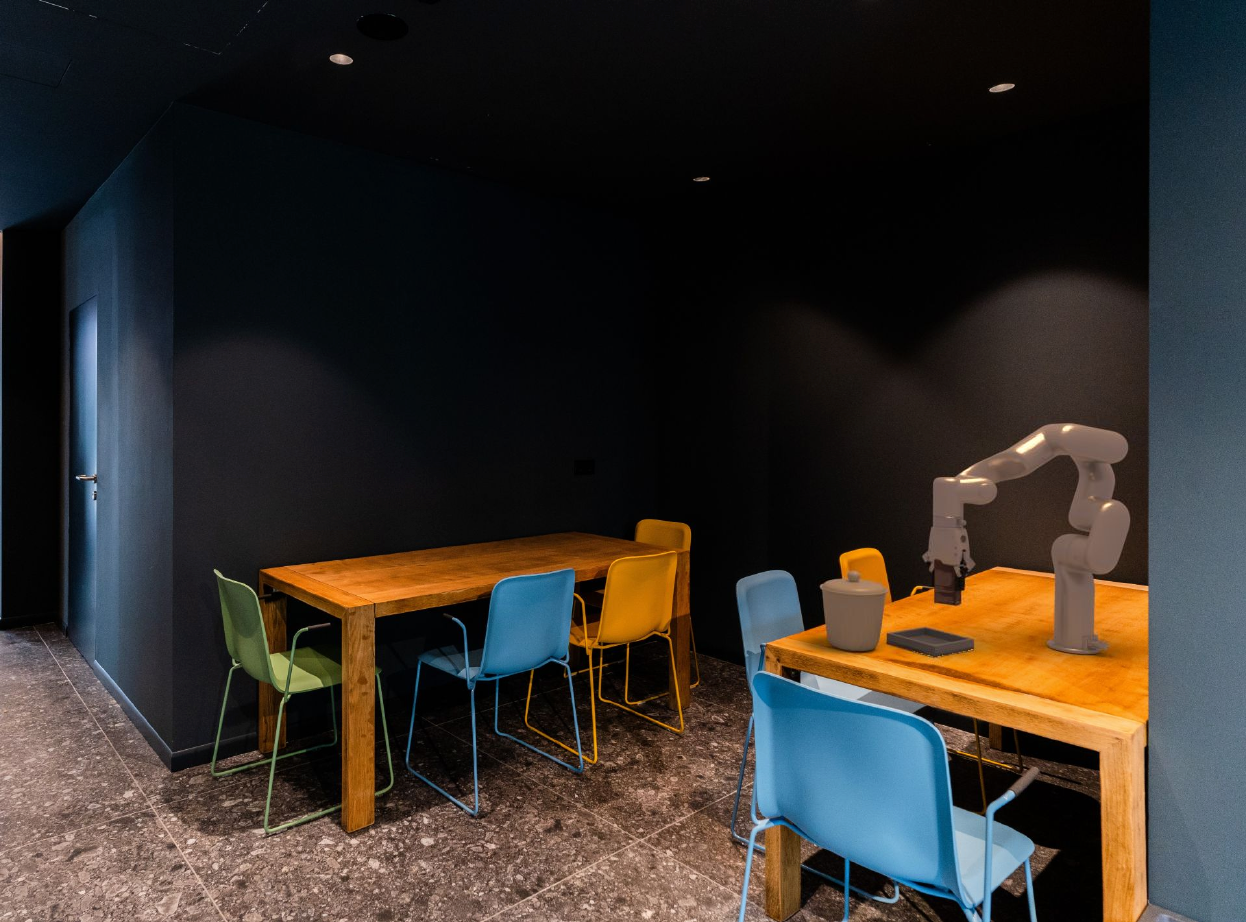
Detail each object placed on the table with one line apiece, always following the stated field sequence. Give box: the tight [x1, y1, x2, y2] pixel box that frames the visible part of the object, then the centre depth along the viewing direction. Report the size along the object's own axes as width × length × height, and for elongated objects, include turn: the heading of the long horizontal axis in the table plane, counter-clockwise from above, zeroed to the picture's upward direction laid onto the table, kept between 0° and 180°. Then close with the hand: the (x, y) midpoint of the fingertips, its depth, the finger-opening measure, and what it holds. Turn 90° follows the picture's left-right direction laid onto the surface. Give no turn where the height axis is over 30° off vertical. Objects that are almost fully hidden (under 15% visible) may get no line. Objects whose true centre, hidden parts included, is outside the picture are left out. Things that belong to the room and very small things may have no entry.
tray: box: [886, 626, 975, 658], centre depth 209 cm, size 16×16×3 cm
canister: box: [819, 570, 889, 652], centre depth 209 cm, size 18×18×21 cm
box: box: [933, 559, 962, 607], centre depth 204 cm, size 6×4×12 cm
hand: (947, 587), depth 204 cm, fingers closed on box, 6 cm apart
